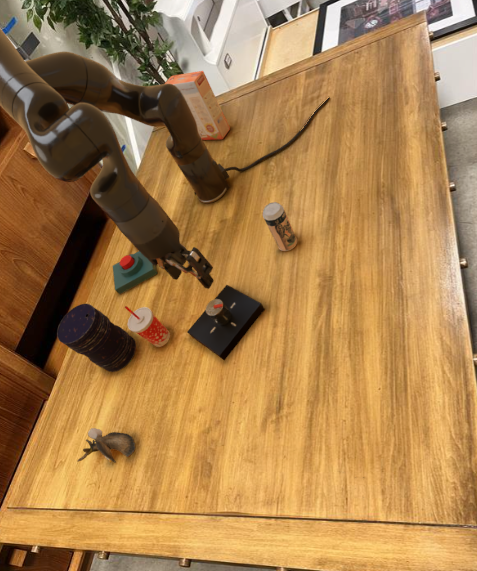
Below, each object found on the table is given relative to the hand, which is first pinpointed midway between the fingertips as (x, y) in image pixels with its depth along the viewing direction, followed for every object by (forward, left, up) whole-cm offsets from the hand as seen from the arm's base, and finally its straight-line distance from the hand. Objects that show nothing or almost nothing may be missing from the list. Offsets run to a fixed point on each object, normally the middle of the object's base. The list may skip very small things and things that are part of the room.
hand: (193, 280), depth 76 cm
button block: (+14, -32, -15) cm, 38 cm away
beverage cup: (+15, -6, -15) cm, 22 cm away
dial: (0, +2, -12) cm, 12 cm away
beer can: (-22, -7, -15) cm, 28 cm away
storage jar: (+26, -10, -15) cm, 32 cm away
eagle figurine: (+33, +12, -15) cm, 38 cm away
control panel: (0, +2, -15) cm, 15 cm away
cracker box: (-30, -71, -15) cm, 79 cm away
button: (+14, -32, -11) cm, 37 cm away
